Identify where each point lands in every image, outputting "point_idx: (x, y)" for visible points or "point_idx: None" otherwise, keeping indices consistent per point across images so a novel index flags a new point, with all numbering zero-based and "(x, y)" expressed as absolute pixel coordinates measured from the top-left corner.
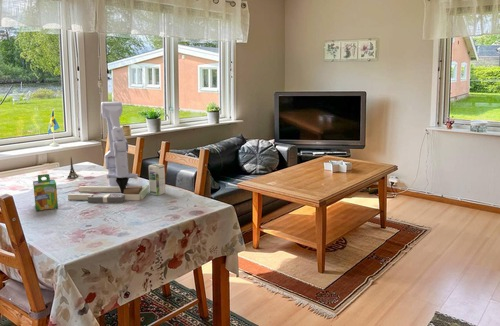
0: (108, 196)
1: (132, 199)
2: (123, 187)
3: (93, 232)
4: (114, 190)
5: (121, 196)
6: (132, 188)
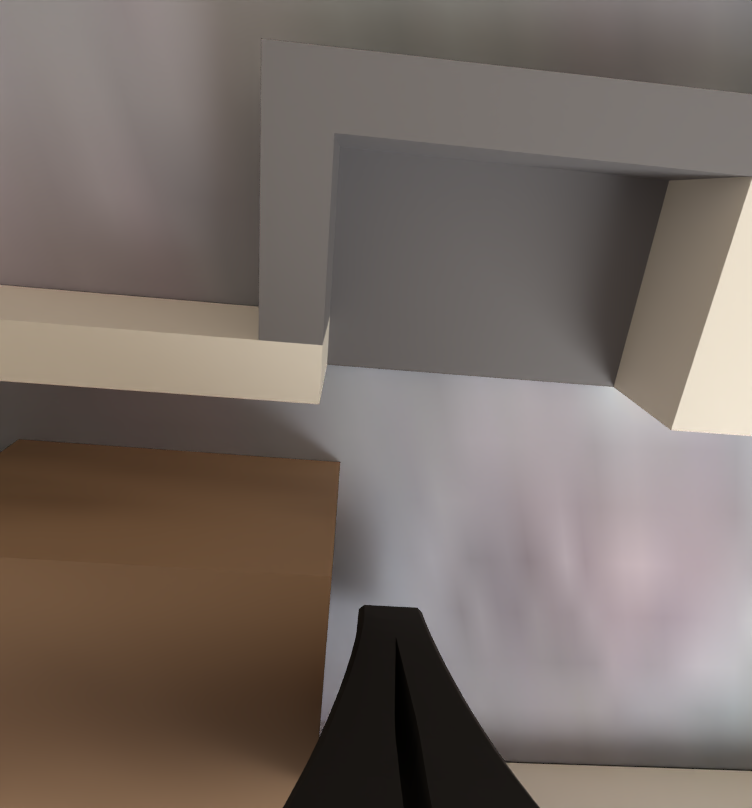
0: (719, 249)
1: (89, 293)
2: (362, 714)
3: None
4: (586, 792)
5: (312, 170)
6: (126, 704)
